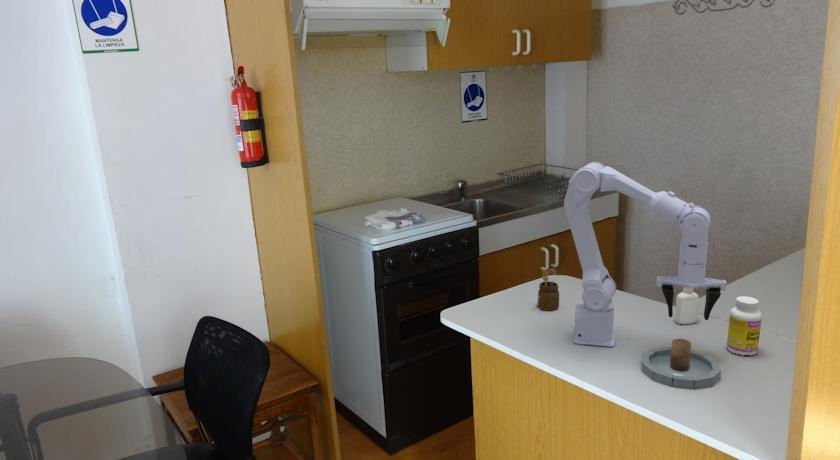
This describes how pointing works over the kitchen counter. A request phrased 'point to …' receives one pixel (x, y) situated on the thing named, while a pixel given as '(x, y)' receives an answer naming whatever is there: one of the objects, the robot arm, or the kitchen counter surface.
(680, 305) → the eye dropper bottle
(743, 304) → the supplement bottle
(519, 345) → the kitchen counter surface
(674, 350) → the walnut cylinder
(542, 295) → the utensil holder
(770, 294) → the kitchen counter surface
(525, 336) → the kitchen counter surface
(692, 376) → the slate dish
